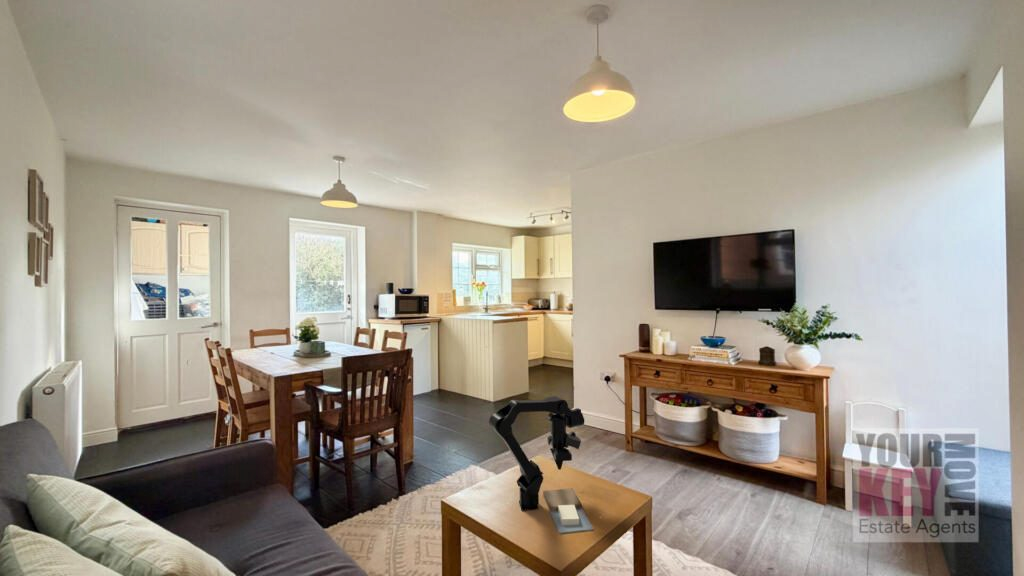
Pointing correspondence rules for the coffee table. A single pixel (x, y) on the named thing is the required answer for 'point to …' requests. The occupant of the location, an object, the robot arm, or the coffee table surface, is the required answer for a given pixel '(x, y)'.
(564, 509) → the tile
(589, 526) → the mat
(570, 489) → the plate
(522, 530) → the coffee table surface
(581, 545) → the coffee table surface
